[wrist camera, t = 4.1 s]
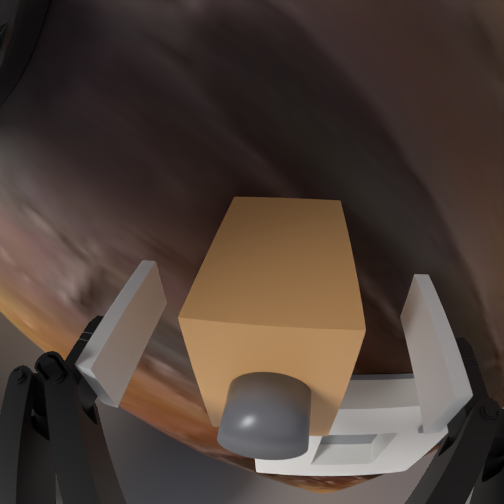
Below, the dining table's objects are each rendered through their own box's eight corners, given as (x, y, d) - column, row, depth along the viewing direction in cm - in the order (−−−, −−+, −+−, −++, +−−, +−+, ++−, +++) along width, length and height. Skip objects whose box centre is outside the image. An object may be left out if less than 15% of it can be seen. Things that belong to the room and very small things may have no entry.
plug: (242, 305, 19) (202, 465, 10) (234, 196, 15) (152, 376, 7) (326, 310, 18) (325, 477, 10) (340, 200, 14) (373, 395, 6)
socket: (260, 450, 32) (255, 474, 29) (254, 369, 22) (247, 408, 19) (403, 450, 29) (405, 473, 27) (471, 368, 20) (481, 401, 17)
